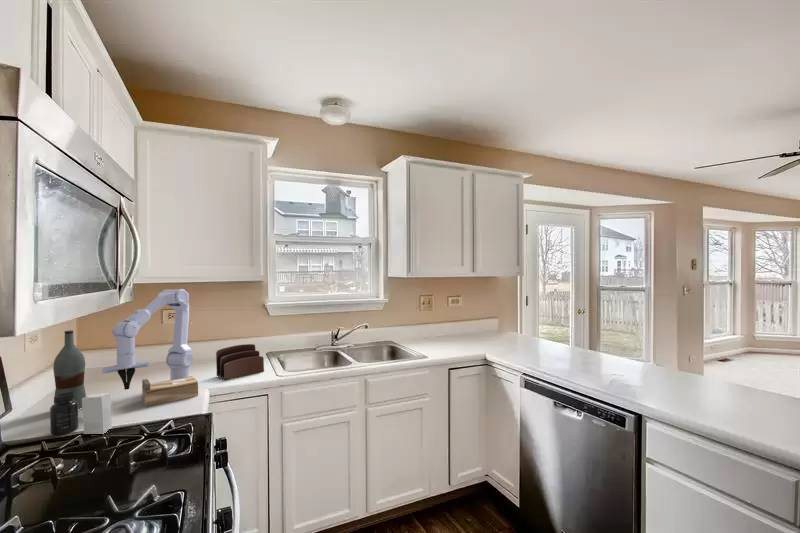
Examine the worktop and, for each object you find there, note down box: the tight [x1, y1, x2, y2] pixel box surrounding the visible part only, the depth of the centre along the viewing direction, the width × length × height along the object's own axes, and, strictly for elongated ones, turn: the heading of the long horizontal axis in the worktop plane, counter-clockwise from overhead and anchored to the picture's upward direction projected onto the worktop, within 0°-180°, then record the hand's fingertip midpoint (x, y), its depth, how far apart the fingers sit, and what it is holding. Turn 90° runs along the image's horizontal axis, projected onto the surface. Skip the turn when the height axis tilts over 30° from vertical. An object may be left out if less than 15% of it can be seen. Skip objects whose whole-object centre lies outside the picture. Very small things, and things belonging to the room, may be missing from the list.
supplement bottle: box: [49, 392, 79, 436], centre depth 122 cm, size 7×7×12 cm
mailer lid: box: [141, 375, 199, 393], centre depth 153 cm, size 11×18×3 cm, turn 131°
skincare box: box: [81, 392, 113, 435], centre depth 119 cm, size 6×4×12 cm
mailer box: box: [141, 382, 199, 407], centre depth 153 cm, size 11×18×5 cm, turn 131°
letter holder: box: [215, 343, 265, 381], centre depth 187 cm, size 10×20×14 cm, turn 137°
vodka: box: [52, 329, 87, 410], centre depth 143 cm, size 9×9×30 cm
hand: (126, 388), depth 144 cm, fingers closed
